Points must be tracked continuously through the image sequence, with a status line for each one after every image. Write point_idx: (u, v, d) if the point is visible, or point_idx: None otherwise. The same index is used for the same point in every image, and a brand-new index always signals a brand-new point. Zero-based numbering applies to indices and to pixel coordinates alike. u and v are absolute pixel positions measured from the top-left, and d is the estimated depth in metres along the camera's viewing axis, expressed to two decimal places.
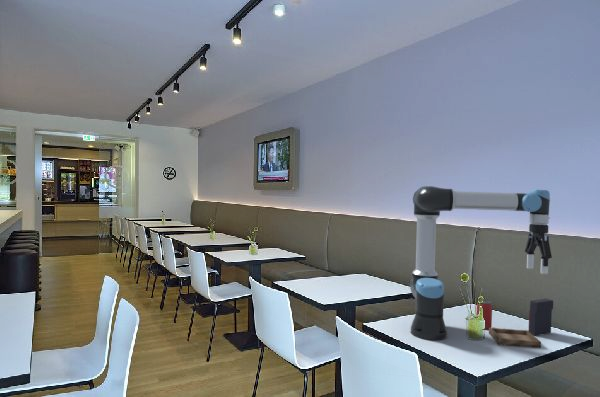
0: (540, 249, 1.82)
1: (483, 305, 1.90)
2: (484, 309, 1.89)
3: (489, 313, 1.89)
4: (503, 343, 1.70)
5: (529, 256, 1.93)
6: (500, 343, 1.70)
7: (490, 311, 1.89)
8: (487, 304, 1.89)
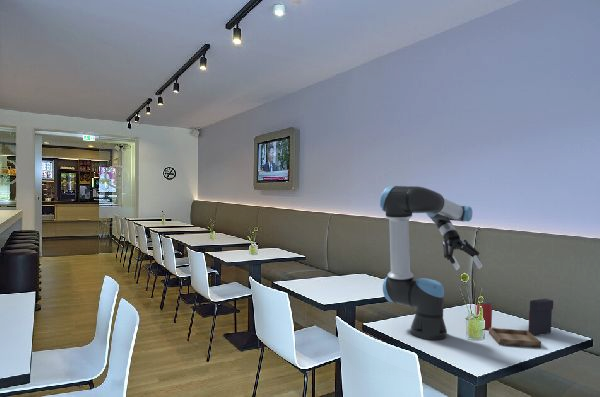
0: (469, 249, 2.09)
1: (483, 305, 1.90)
2: (484, 309, 1.89)
3: (489, 313, 1.89)
4: (503, 343, 1.70)
5: None
6: (500, 343, 1.70)
7: (490, 311, 1.89)
8: (487, 304, 1.89)
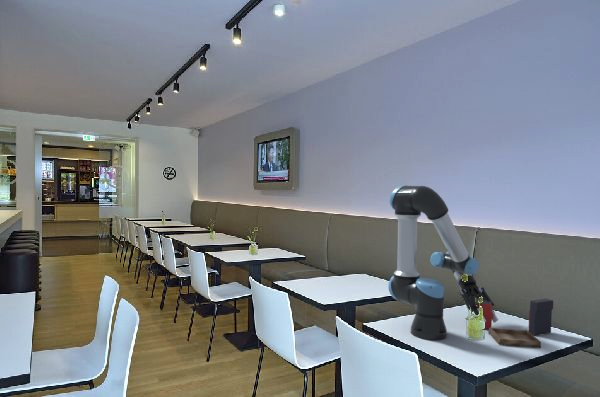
0: (484, 298, 1.96)
1: (483, 305, 1.90)
2: (484, 309, 1.89)
3: (489, 313, 1.89)
4: (503, 343, 1.70)
5: None
6: (500, 343, 1.70)
7: (490, 311, 1.89)
8: (487, 304, 1.89)
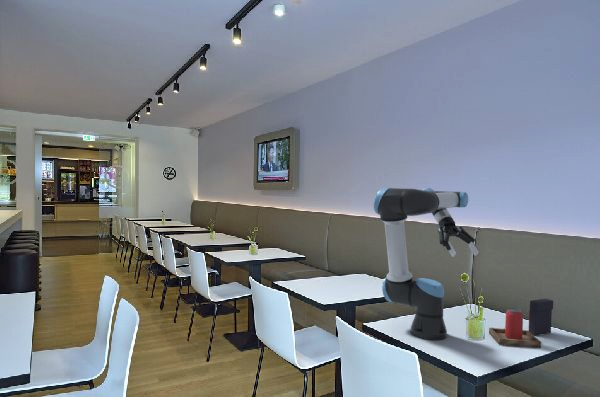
0: (464, 235, 2.05)
1: (513, 314, 1.74)
2: (514, 318, 1.73)
3: (520, 322, 1.73)
4: (503, 343, 1.70)
5: None
6: (500, 343, 1.70)
7: (521, 320, 1.73)
8: (518, 313, 1.73)
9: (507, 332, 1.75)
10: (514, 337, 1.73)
